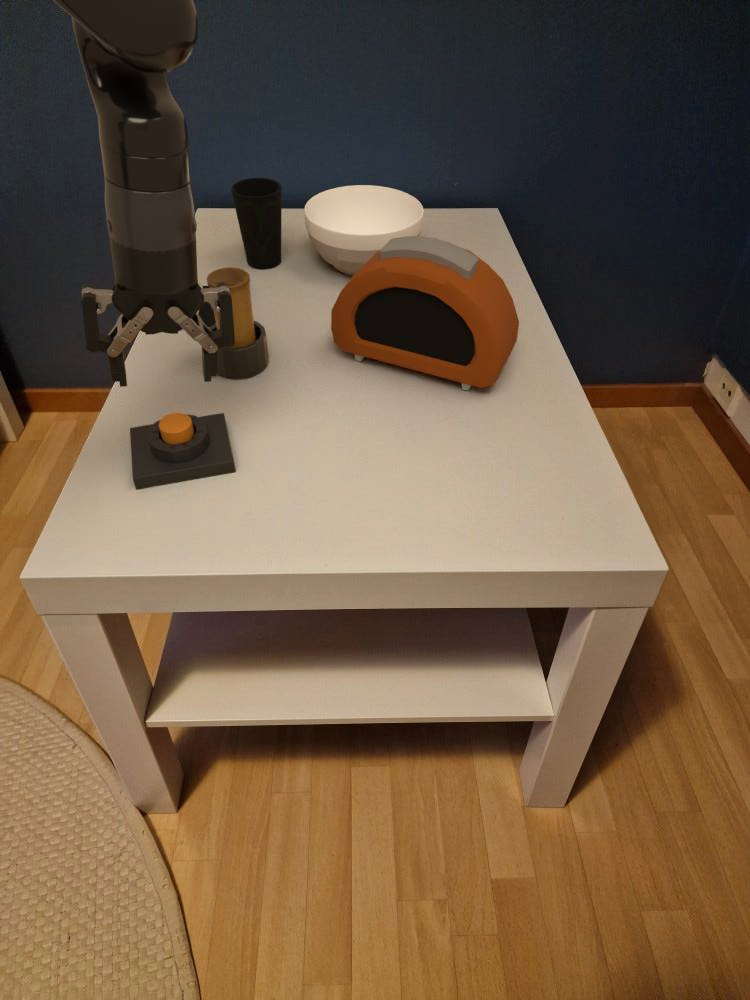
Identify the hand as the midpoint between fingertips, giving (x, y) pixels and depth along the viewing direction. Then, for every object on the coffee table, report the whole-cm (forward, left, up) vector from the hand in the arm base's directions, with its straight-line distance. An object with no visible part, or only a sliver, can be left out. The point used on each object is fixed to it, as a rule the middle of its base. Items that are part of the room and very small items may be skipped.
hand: (165, 380), depth 73 cm
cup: (+17, +45, -11) cm, 49 cm away
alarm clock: (+33, +11, -11) cm, 36 cm away
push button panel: (0, 0, -11) cm, 11 cm away
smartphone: (+8, +31, -11) cm, 34 cm away
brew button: (0, 0, -7) cm, 7 cm away
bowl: (+33, +41, -11) cm, 54 cm away
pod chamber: (+9, +17, -11) cm, 22 cm away
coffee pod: (+9, +17, -10) cm, 22 cm away
